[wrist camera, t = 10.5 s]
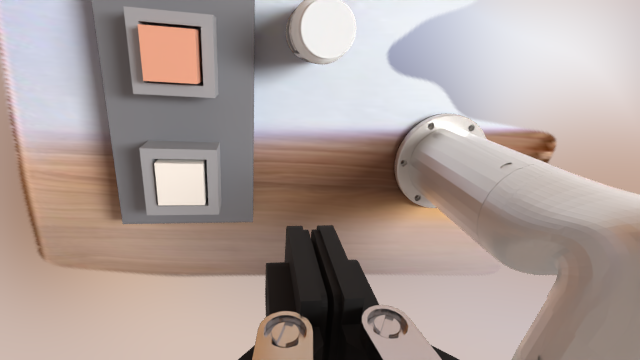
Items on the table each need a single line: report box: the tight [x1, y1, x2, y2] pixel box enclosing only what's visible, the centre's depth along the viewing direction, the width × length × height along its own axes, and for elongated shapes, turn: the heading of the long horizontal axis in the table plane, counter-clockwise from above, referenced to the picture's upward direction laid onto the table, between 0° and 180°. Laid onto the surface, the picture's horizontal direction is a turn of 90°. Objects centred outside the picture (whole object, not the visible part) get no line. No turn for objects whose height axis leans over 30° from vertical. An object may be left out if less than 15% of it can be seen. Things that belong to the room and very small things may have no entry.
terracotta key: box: [138, 24, 203, 84], centre depth 30 cm, size 4×4×3 cm
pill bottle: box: [286, 0, 356, 64], centre depth 32 cm, size 6×6×10 cm
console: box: [91, 0, 255, 224], centre depth 35 cm, size 14×24×6 cm, turn 176°
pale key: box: [154, 159, 208, 205], centre depth 35 cm, size 4×4×3 cm
